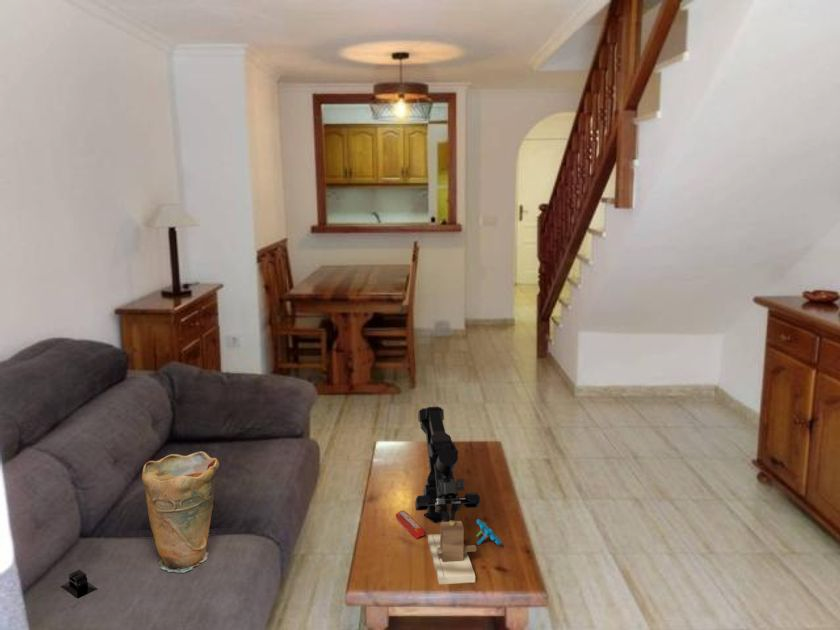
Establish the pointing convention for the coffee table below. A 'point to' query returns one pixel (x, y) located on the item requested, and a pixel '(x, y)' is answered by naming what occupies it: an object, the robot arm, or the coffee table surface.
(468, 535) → the coffee table surface
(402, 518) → the candy bar
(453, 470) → the robot arm
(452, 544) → the tan knobbed block
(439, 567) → the pine board
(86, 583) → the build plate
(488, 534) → the gear
